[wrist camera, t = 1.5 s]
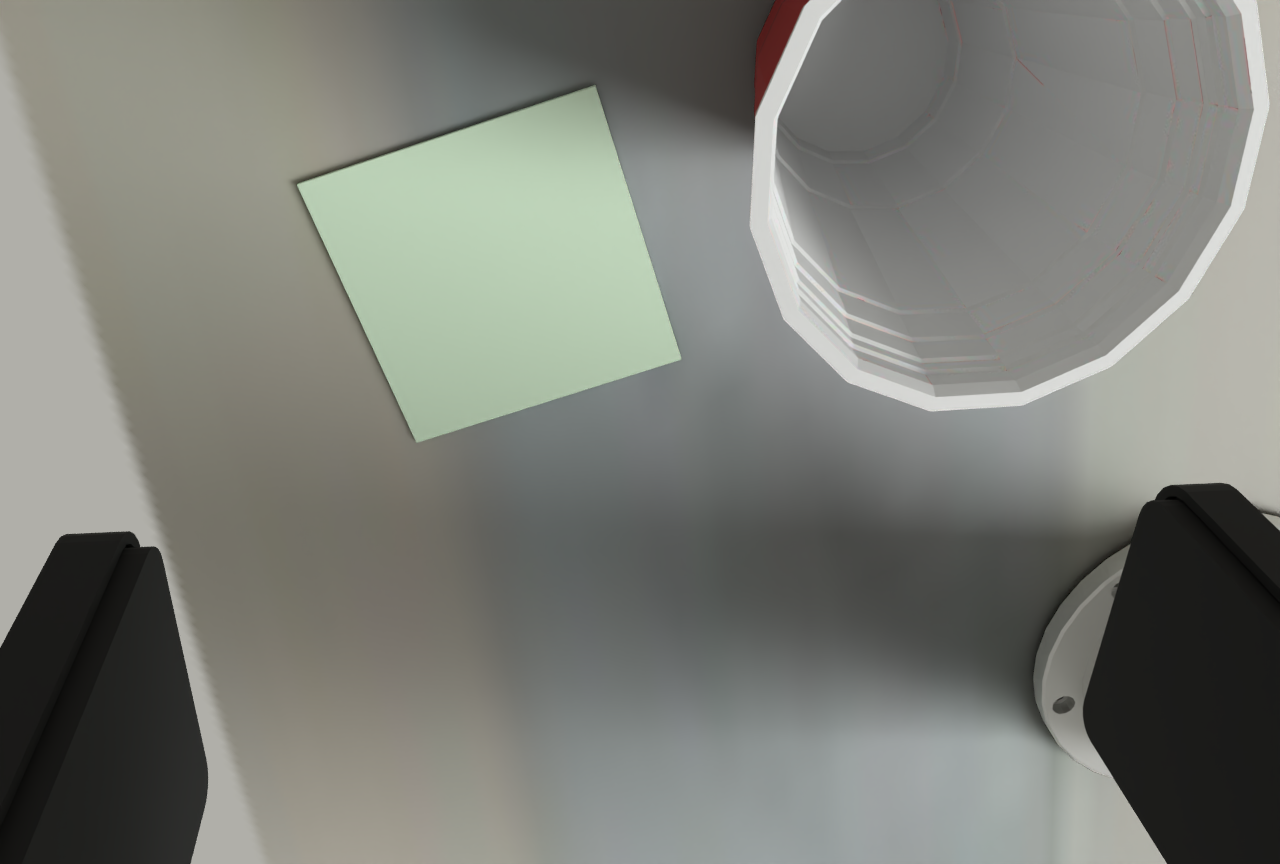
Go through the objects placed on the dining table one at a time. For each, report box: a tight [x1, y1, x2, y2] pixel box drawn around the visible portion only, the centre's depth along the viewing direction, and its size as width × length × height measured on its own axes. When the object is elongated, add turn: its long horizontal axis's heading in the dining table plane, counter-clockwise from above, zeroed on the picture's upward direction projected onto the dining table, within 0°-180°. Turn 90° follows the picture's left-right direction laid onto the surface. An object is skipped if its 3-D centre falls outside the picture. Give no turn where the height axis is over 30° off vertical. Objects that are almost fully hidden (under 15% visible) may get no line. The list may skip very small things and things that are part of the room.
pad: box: [297, 85, 682, 443], centre depth 35 cm, size 9×9×1 cm
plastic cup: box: [750, 0, 1270, 411], centre depth 28 cm, size 11×11×12 cm
